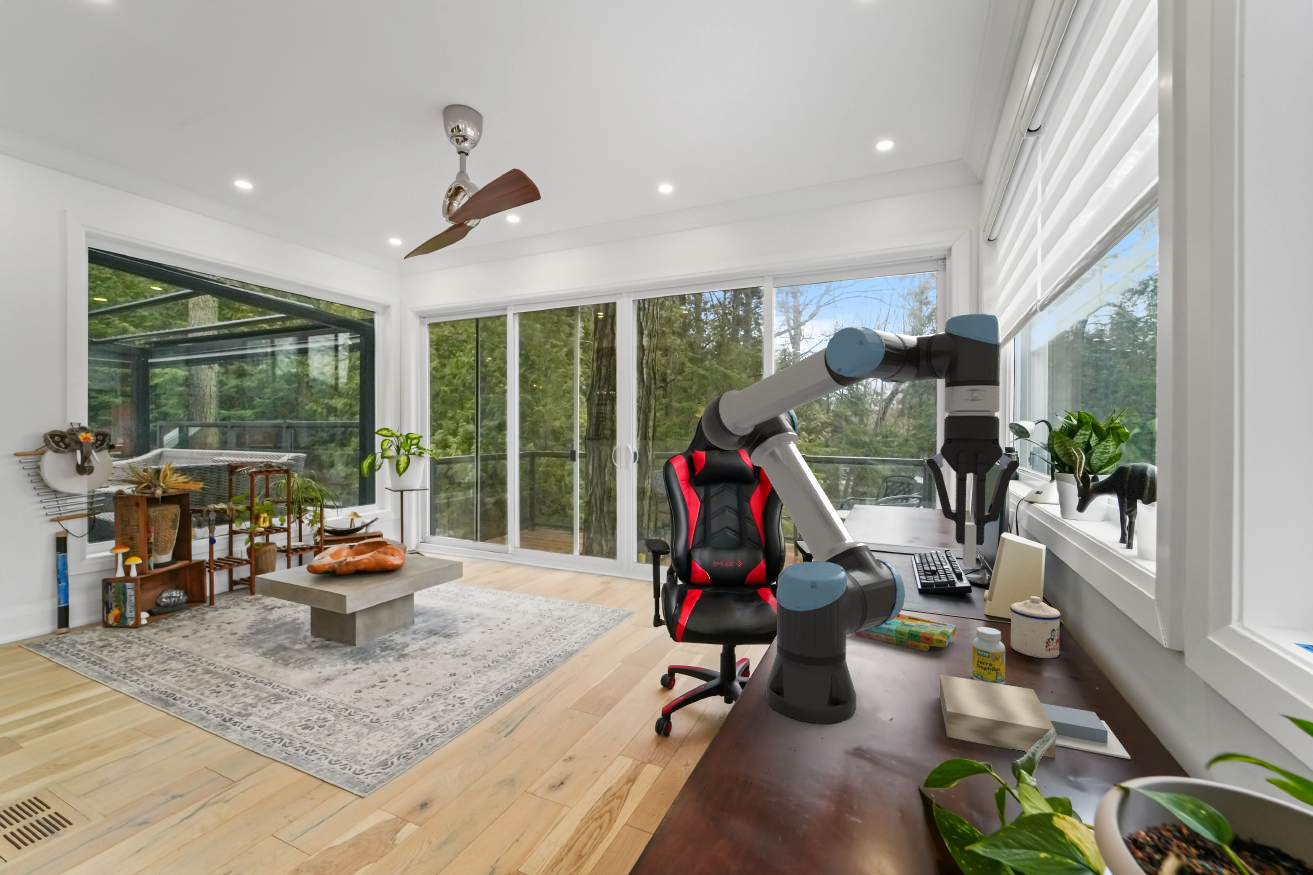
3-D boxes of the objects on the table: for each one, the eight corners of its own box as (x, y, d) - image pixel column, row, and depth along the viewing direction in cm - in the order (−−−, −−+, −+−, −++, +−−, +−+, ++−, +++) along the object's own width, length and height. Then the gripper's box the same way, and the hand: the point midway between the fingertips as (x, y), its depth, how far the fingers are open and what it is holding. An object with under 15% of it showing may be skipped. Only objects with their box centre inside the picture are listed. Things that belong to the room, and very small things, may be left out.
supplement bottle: (1004, 678, 107) (1005, 628, 107) (1005, 689, 102) (1006, 637, 102) (972, 672, 109) (972, 623, 109) (971, 682, 105) (972, 632, 105)
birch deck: (946, 736, 86) (947, 710, 86) (939, 696, 99) (940, 674, 99) (1055, 757, 81) (1055, 730, 81) (1032, 712, 94) (1033, 689, 94)
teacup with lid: (1056, 663, 114) (1057, 606, 114) (1004, 650, 120) (1005, 597, 120) (1065, 646, 122) (1066, 594, 122) (1017, 636, 129) (1018, 585, 129)
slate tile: (1044, 731, 87) (1044, 719, 87) (1035, 713, 93) (1035, 702, 93) (1107, 743, 84) (1107, 730, 84) (1094, 724, 90) (1094, 712, 90)
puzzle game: (866, 604, 138) (956, 621, 125) (865, 622, 138) (956, 642, 125) (850, 616, 128) (946, 636, 116) (849, 636, 129) (945, 659, 116)
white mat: (1050, 744, 84) (1050, 742, 84) (1033, 710, 94) (1033, 708, 94) (1130, 759, 81) (1130, 757, 81) (1104, 722, 91) (1104, 720, 91)
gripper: (926, 414, 86) (924, 565, 87) (1025, 414, 81) (1023, 575, 81) (924, 415, 93) (922, 555, 93) (1015, 415, 88) (1012, 563, 88)
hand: (969, 564), depth 87 cm, fingers closed
